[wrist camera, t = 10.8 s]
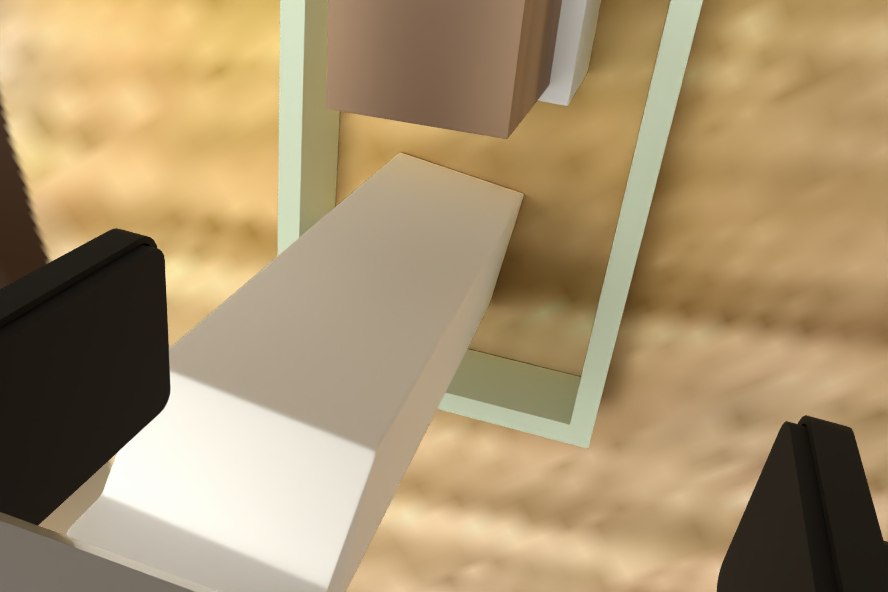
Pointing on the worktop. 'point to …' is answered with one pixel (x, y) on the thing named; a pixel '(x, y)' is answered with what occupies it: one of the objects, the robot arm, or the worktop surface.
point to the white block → (572, 49)
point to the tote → (479, 374)
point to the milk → (310, 390)
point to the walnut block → (441, 60)
